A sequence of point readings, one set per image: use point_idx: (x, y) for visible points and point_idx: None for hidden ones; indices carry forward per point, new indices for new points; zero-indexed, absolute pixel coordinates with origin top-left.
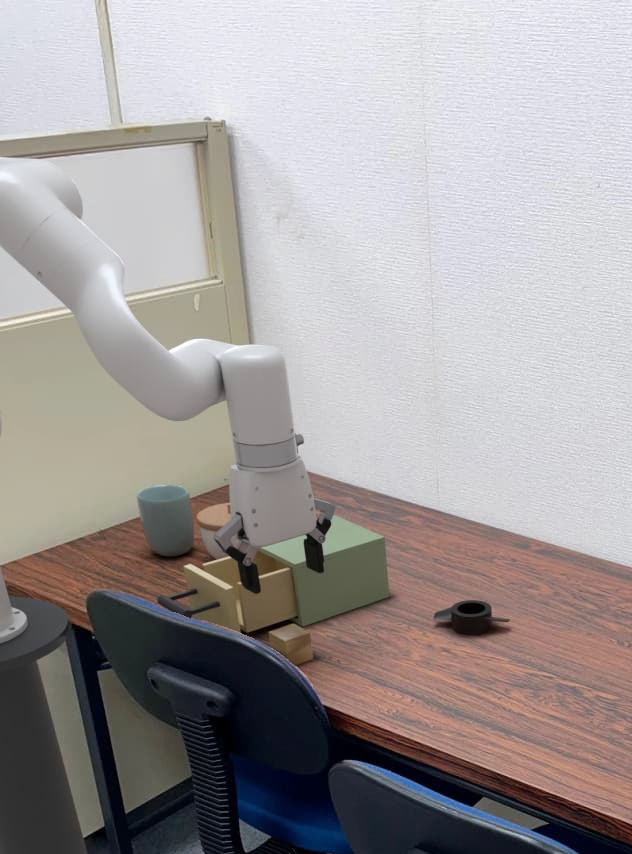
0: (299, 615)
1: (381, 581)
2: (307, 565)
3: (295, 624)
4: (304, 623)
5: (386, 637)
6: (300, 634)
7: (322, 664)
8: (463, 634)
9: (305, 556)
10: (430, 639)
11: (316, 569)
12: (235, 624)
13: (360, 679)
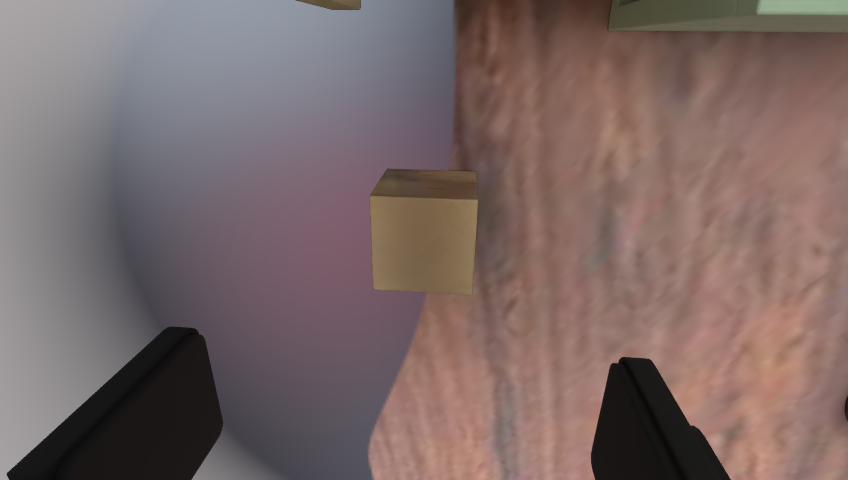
0: (622, 16)
1: None
2: (616, 375)
3: (475, 213)
4: (621, 30)
5: (711, 288)
6: (438, 286)
7: None
8: (846, 413)
9: (637, 416)
10: (770, 374)
11: (598, 455)
12: (325, 4)
13: (481, 401)
